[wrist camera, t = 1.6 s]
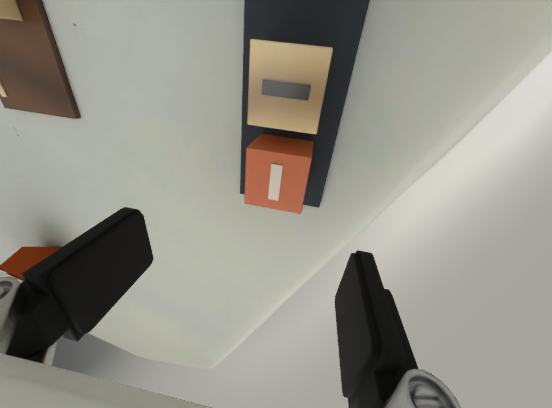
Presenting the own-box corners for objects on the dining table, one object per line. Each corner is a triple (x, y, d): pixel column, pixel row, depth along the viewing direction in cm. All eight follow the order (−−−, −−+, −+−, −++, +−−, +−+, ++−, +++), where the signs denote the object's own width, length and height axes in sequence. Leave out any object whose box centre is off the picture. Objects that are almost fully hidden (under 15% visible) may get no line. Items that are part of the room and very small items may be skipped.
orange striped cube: (261, 133, 19) (245, 147, 15) (313, 141, 18) (311, 158, 14) (258, 180, 21) (243, 204, 17) (304, 188, 21) (300, 214, 17)
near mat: (248, -69, 13) (246, -74, 13) (383, -61, 13) (385, -66, 12) (241, 191, 23) (240, 193, 22) (319, 205, 22) (319, 207, 21)
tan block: (266, 48, 16) (249, 38, 12) (330, 54, 15) (333, 46, 11) (262, 114, 18) (246, 124, 14) (317, 122, 18) (316, 135, 14)
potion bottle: (68, 291, 42) (73, 232, 35) (80, 336, 37) (88, 277, 31) (-12, 313, 34) (-24, 243, 28) (-10, 373, 30) (-23, 305, 24)
